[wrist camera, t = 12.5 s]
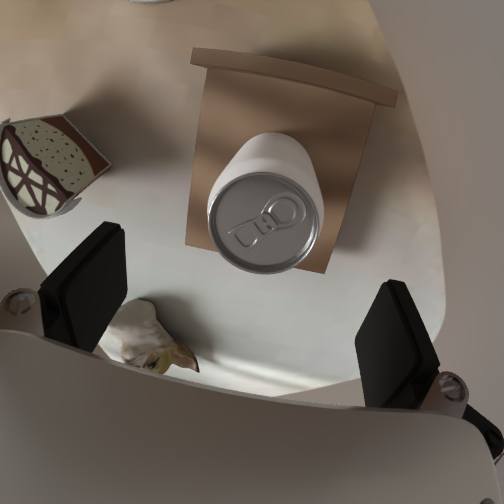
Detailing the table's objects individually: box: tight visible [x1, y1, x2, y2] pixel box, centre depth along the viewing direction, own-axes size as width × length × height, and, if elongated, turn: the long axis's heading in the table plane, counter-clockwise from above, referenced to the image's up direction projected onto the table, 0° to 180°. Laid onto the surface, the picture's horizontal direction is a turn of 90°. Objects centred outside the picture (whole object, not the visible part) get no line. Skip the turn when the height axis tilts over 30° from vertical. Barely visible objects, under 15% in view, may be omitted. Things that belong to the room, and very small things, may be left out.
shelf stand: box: [185, 48, 398, 274], centre depth 26 cm, size 18×14×9 cm
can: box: [207, 132, 324, 274], centre depth 21 cm, size 6×6×12 cm
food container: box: [0, 114, 113, 219], centre depth 27 cm, size 12×6×10 cm, turn 43°
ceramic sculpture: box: [107, 299, 200, 374], centre depth 39 cm, size 11×9×15 cm
